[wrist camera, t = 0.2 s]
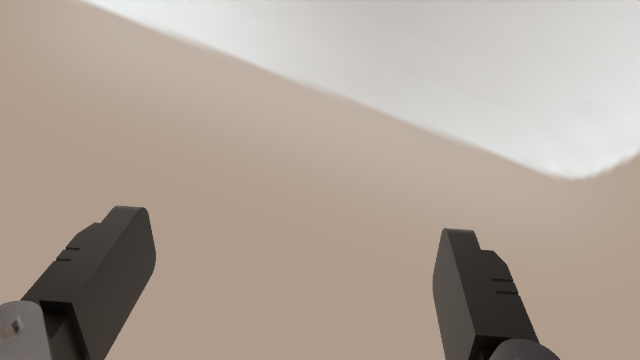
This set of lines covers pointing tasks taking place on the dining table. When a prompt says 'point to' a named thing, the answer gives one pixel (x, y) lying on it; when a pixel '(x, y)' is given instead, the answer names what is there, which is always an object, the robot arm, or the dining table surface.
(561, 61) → the dining table surface
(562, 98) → the dining table surface
